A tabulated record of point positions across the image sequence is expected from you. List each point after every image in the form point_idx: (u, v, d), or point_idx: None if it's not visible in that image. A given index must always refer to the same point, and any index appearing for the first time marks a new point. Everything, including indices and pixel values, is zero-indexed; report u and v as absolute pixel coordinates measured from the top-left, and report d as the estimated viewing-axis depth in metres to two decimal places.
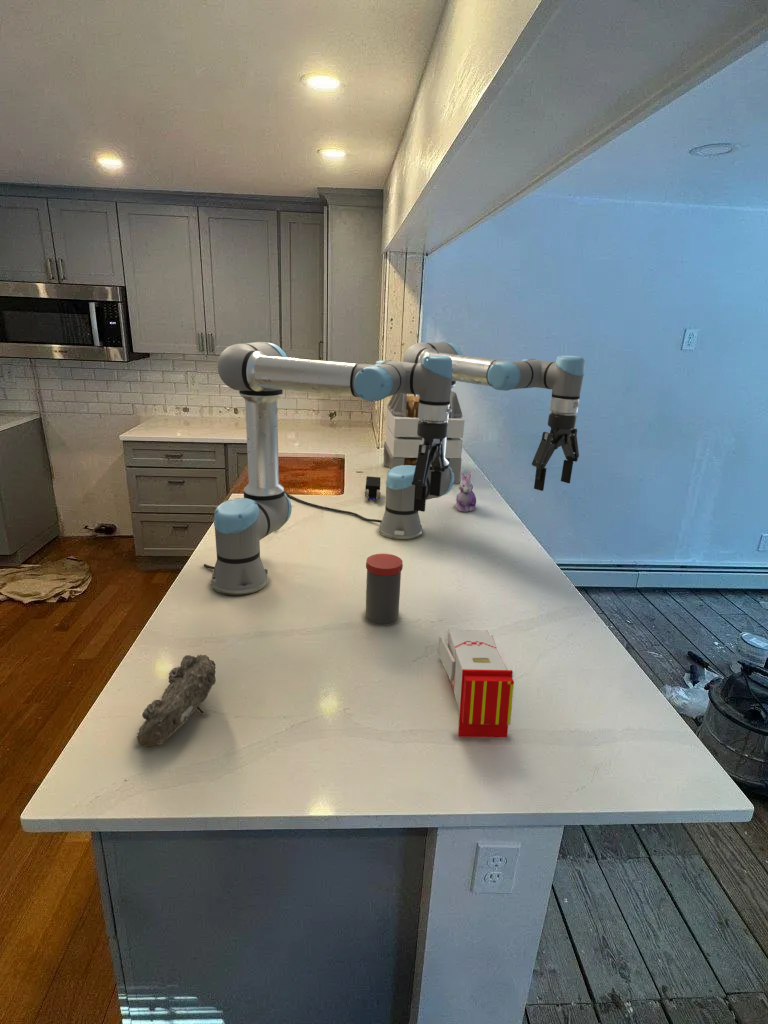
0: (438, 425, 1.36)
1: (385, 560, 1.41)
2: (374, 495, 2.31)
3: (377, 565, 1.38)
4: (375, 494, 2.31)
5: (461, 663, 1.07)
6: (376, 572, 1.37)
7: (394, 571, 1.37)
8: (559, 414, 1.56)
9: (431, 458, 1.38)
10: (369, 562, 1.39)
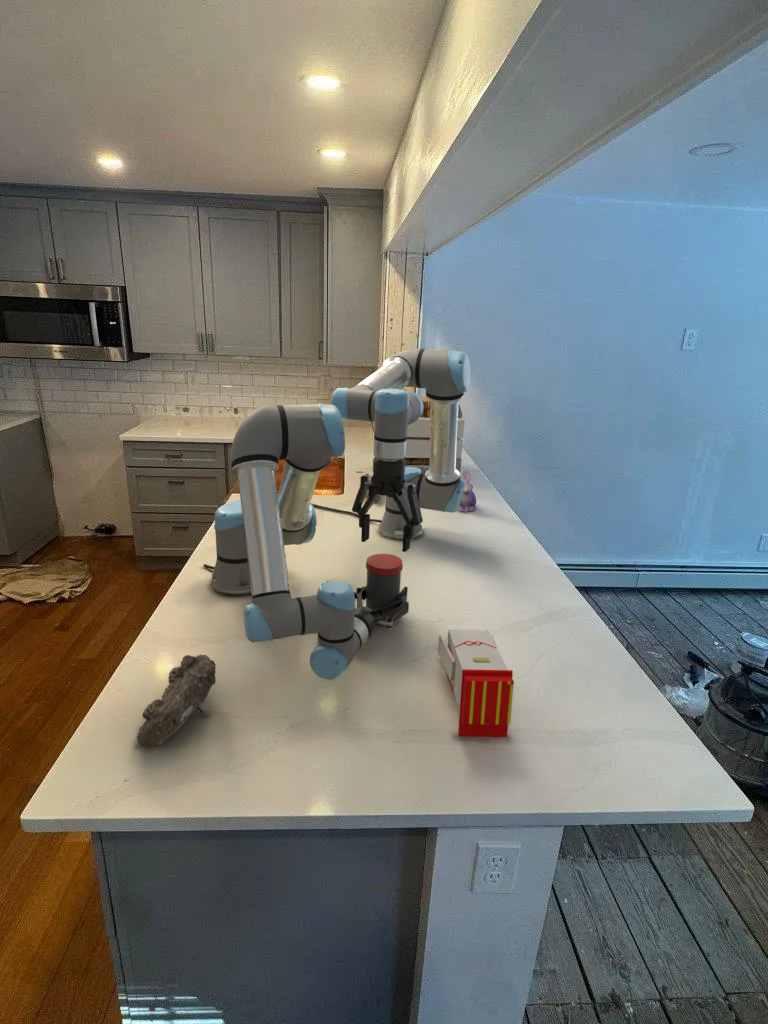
0: None
1: (385, 560, 1.41)
2: None
3: (377, 565, 1.38)
4: None
5: (461, 663, 1.07)
6: (376, 572, 1.37)
7: (394, 571, 1.37)
8: (402, 458, 1.31)
9: None
10: (369, 562, 1.39)
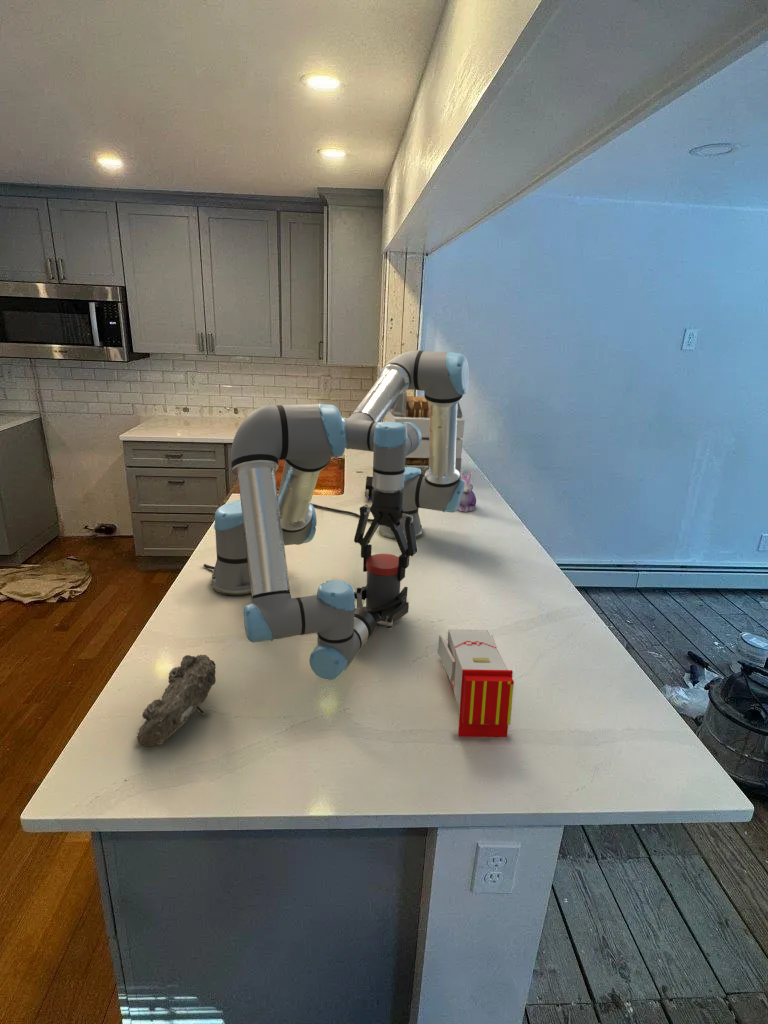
0: None
1: (385, 560, 1.41)
2: None
3: (377, 565, 1.38)
4: None
5: (461, 663, 1.07)
6: (376, 572, 1.37)
7: (394, 571, 1.37)
8: (400, 489, 1.34)
9: None
10: (369, 562, 1.39)
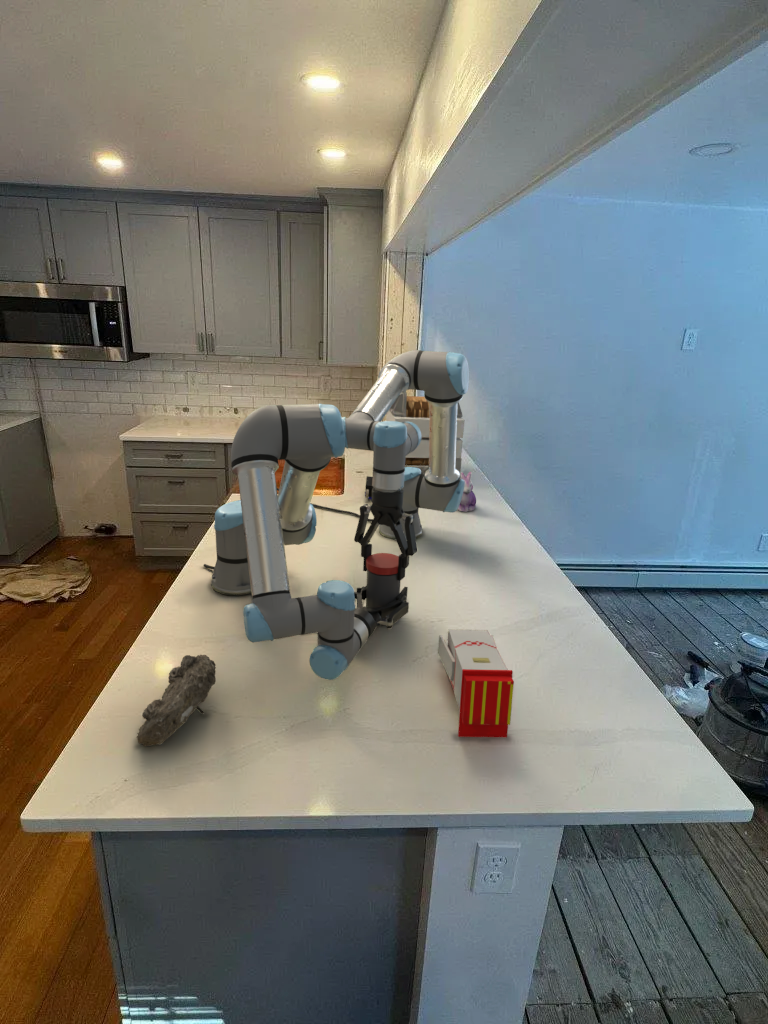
0: None
1: (382, 560, 1.40)
2: None
3: (397, 559, 1.41)
4: None
5: (461, 663, 1.07)
6: None
7: None
8: (400, 489, 1.33)
9: None
10: None
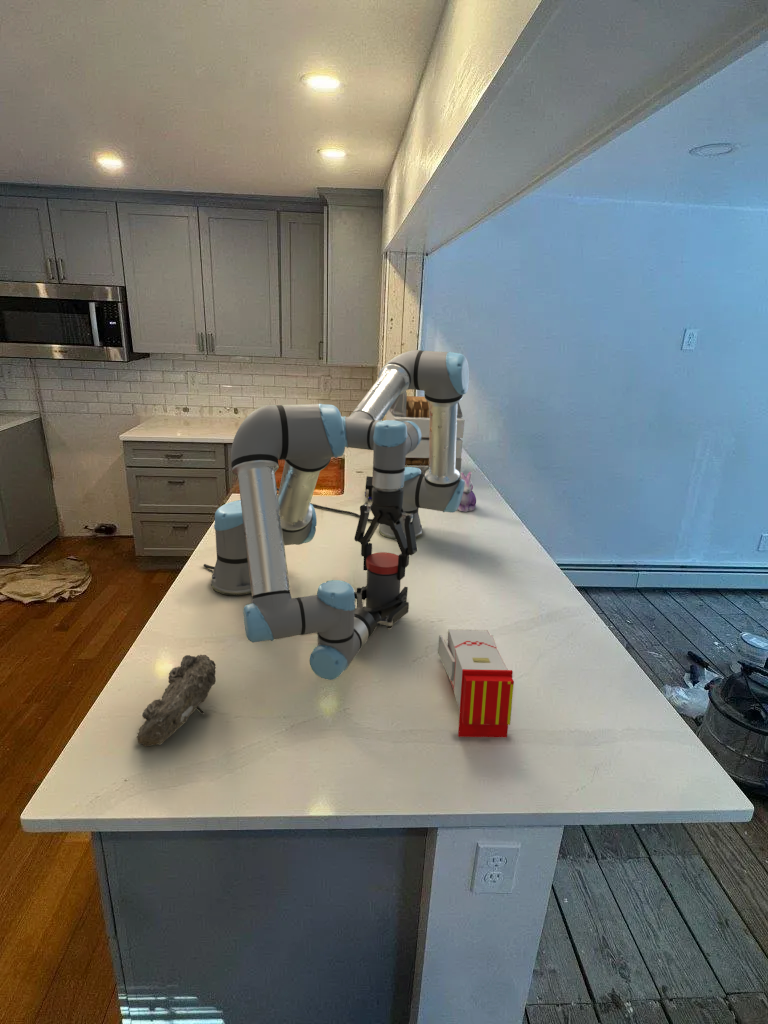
0: None
1: (385, 560, 1.40)
2: None
3: (373, 555, 1.42)
4: None
5: (461, 663, 1.07)
6: None
7: (368, 566, 1.39)
8: (400, 488, 1.33)
9: None
10: (381, 553, 1.44)
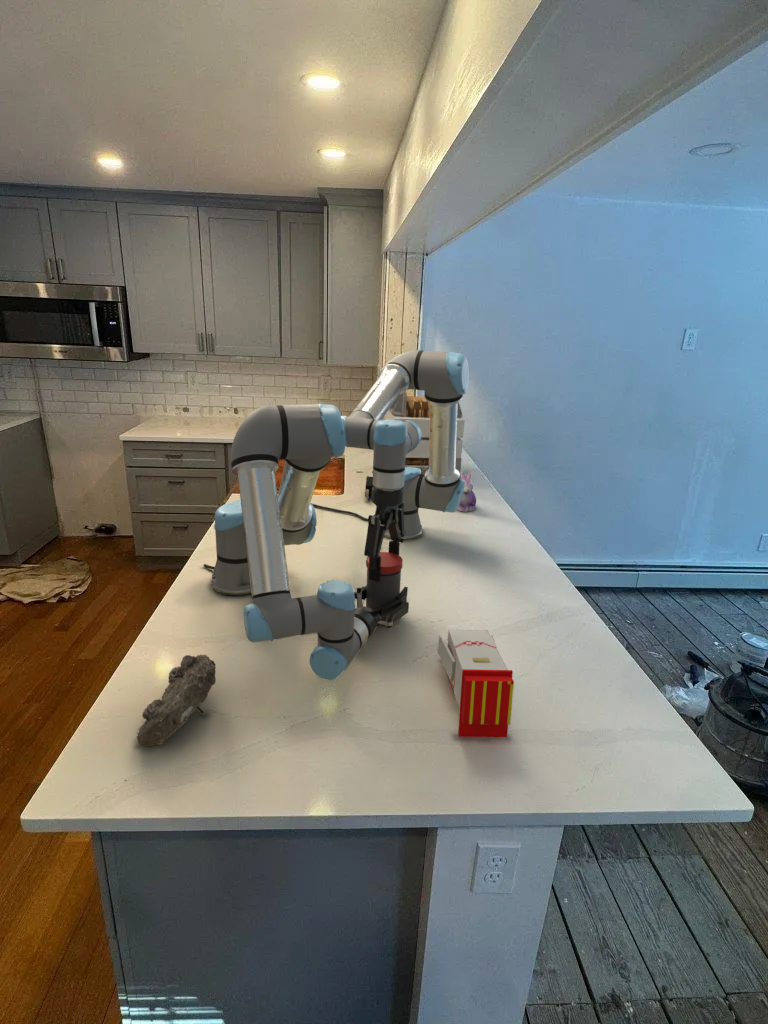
0: None
1: (385, 558, 1.41)
2: None
3: None
4: None
5: (461, 663, 1.07)
6: None
7: (392, 570, 1.37)
8: None
9: None
10: None
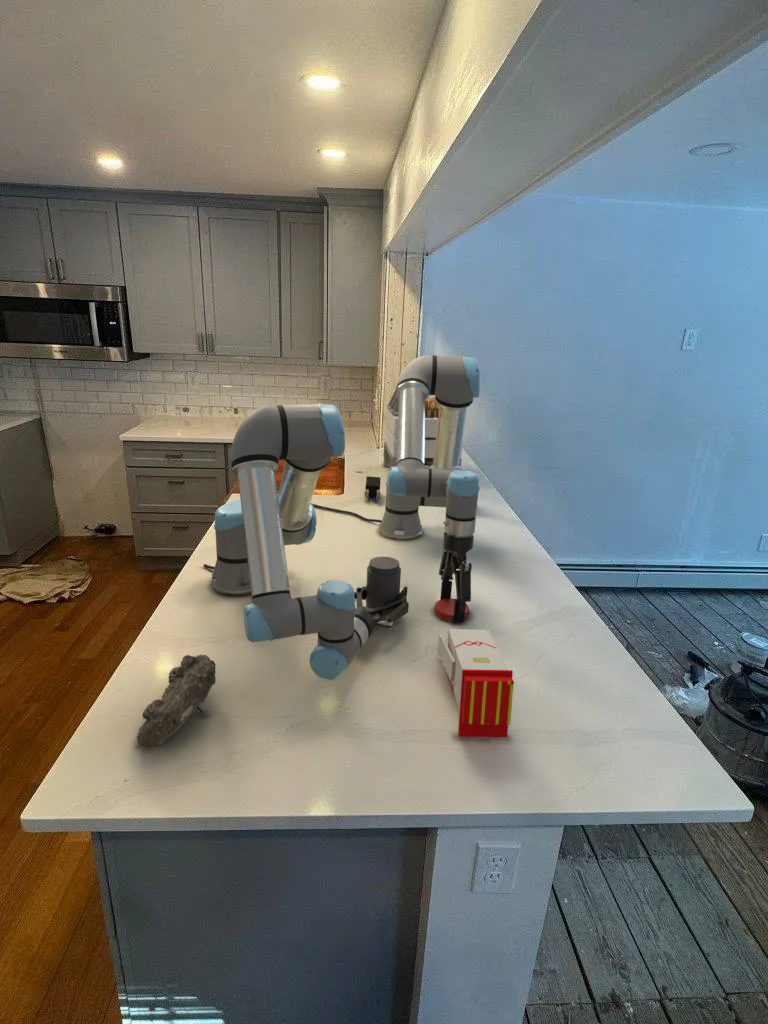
0: None
1: (451, 605, 1.49)
2: (374, 495, 2.31)
3: None
4: (375, 494, 2.31)
5: (461, 663, 1.07)
6: None
7: (468, 613, 1.48)
8: None
9: None
10: (444, 612, 1.46)
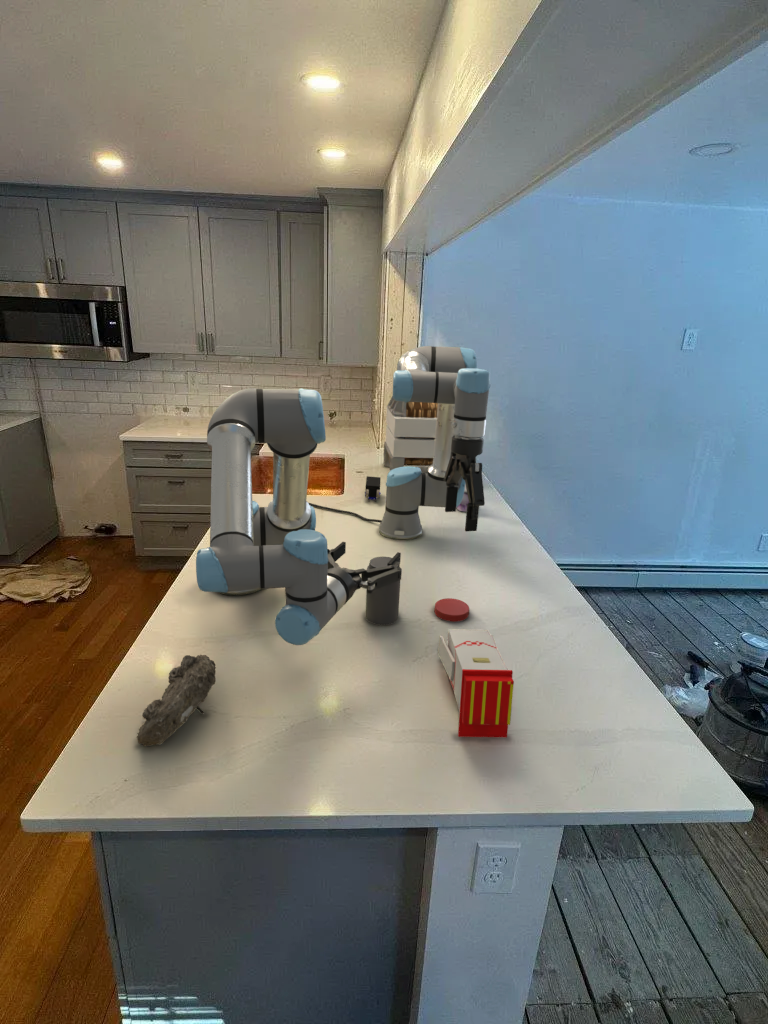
0: None
1: (451, 605, 1.49)
2: (374, 495, 2.31)
3: (455, 613, 1.46)
4: (375, 494, 2.31)
5: (461, 663, 1.07)
6: (457, 619, 1.45)
7: (468, 613, 1.48)
8: None
9: None
10: (444, 612, 1.46)
